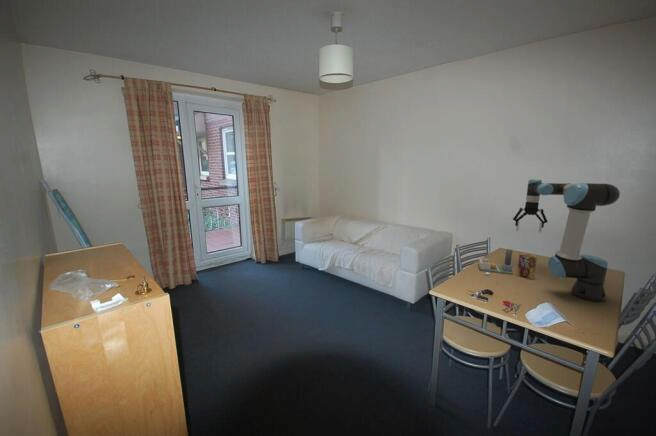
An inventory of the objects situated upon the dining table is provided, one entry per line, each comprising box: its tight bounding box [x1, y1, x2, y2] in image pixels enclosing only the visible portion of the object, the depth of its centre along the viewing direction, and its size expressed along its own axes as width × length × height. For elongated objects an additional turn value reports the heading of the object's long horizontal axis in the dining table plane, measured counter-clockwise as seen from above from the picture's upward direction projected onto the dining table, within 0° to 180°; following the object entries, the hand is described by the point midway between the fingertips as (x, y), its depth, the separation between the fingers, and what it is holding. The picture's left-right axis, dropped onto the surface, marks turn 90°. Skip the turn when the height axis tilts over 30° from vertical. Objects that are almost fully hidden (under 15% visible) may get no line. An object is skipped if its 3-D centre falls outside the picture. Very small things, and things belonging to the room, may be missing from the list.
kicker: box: [501, 248, 513, 272], centre depth 203 cm, size 6×5×14 cm
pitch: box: [477, 258, 514, 276], centre depth 207 cm, size 13×20×6 cm, turn 69°
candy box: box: [516, 252, 538, 280], centre depth 193 cm, size 9×4×15 cm, turn 39°
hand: (528, 231), depth 206 cm, fingers open, 13 cm apart
